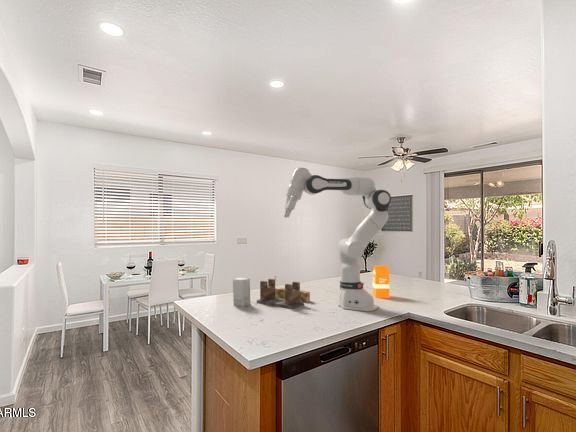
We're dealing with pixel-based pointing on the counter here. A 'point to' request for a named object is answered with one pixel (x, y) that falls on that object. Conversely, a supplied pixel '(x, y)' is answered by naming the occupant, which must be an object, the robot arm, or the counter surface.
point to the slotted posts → (289, 302)
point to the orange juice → (380, 282)
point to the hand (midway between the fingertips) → (286, 217)
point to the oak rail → (303, 294)
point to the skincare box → (241, 291)
